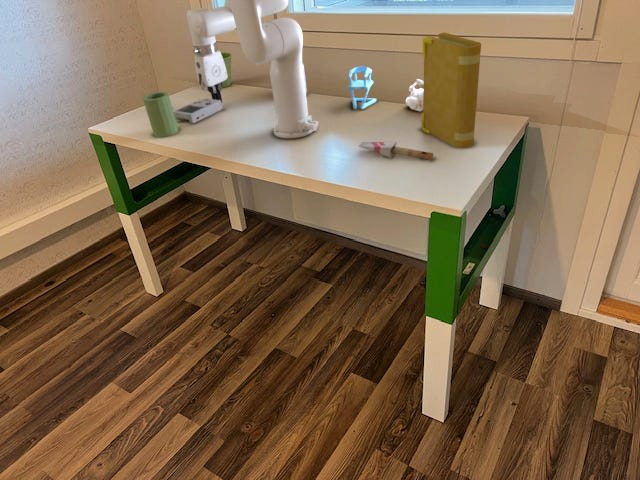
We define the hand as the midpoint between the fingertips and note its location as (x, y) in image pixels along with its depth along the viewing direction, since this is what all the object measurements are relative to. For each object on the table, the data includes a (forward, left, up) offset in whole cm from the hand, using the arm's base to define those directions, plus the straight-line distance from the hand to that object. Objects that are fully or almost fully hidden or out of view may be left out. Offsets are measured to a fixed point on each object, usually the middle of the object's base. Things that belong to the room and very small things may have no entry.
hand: (217, 102), depth 174 cm
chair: (-48, -19, -2) cm, 52 cm away
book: (-84, -6, -2) cm, 85 cm away
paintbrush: (-76, +10, -2) cm, 77 cm away
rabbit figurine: (-68, -22, -2) cm, 72 cm away
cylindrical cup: (0, +24, -2) cm, 24 cm away
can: (-20, -20, -2) cm, 28 cm away
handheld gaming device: (0, +9, -2) cm, 9 cm away
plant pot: (+18, -20, -2) cm, 27 cm away
